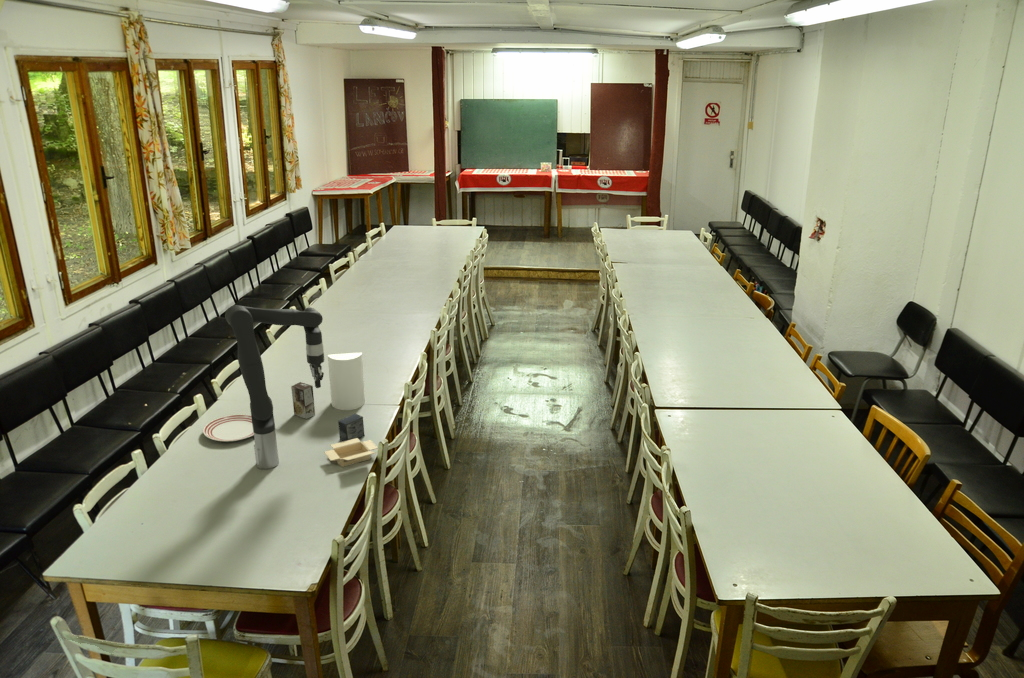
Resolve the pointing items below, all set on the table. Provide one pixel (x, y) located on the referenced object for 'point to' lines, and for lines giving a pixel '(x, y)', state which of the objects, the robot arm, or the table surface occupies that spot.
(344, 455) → the carton
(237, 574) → the table surface
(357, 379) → the cylinder
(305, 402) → the coffee box
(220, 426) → the dinner plate
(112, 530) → the table surface
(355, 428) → the small box
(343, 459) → the front flap
